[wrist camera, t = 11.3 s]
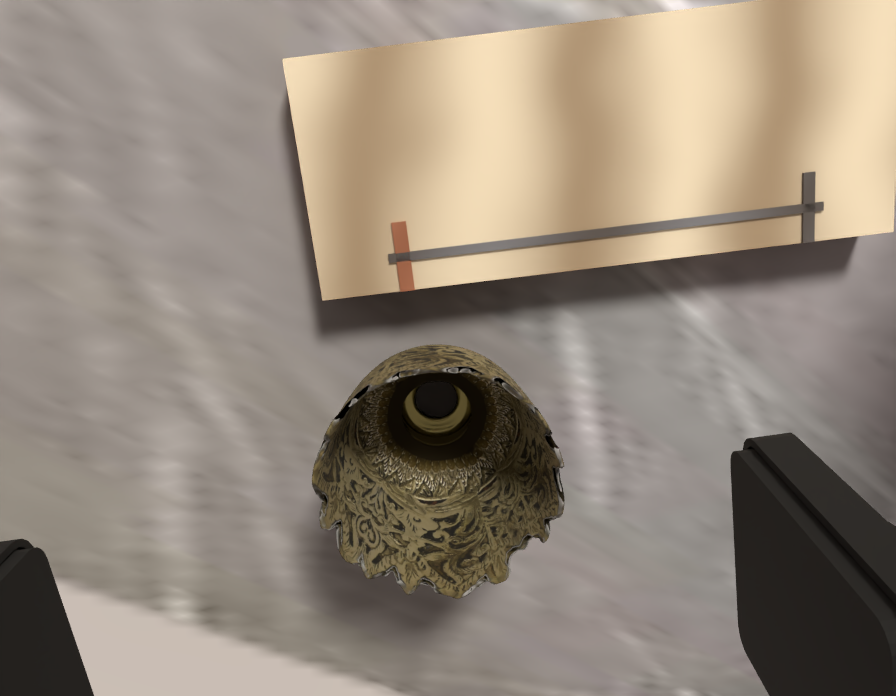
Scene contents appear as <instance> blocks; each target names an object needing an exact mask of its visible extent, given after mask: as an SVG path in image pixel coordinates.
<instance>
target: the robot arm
mask: <svg viewBox="0 0 896 696" xmlns="http://www.w3.org/2000/svg"><path fill="white" fill-rule="evenodd" d="M731 483H732V505H733V526H734V547H735V568H736V590H737V611H738V627H739V633H740V637H741V641H742V644H743V647H744V650H745V652H746V654H747V656H748V658H749V660H750V661H751V663H752V665H753V667H754V669H755V670H756V672H757V674H758V676H759V678H760V679H761V681H762V683H763V685H764V687H765V688H766V690H767V692H768V694H769V696H896V526H894V525H893V524H891V523H890V522H887V521H886V520H885V519H884V518H883V517H882V516H881V515H880V514H879V513H878V512H876V511H875V510H874V509H873V508H872V507H871V506H870V505H869V504H868V503H867V502H866V501H865V500H864V499H863V498H862V497H860V496H859V495H858V494H857V493H856V492H855V491H854V490H853V489H852V488H851V487H850V486H849V485H848V484H847V483H846V482H844V481H843V480H842V479H841V478H840V477H839V476H838V475H837V474H836V473H835V472H834V471H833V470H832V469H831V468H829V467H828V466H827V465H826V464H825V463H824V462H823V461H822V460H821V459H820V458H819V457H818V456H817V455H816V454H815V453H813V452H812V451H811V450H810V449H809V448H808V447H807V446H806V445H805V444H804V443H803V442H802V441H801V440H800V439H799V438H797V437H796V436H795V435H794V434H792V433H784V434H777V435H770V436H763V437H756V438H749V439H746V441H745V442H744V446H743V450H741V451H734V452H733V453H732V455H731ZM0 696H94V694H93V692H92V689H91V685H90V683H89V680H88V677H87V674H86V671H85V668H84V665H83V662H82V659H81V656H80V653H79V650H78V647H77V645H76V642H75V639H74V636H73V633H72V630H71V627H70V624H69V621H68V618H67V615H66V612H65V609H64V606H63V603H62V600H61V597H60V594H59V591H58V589H57V586H56V583H55V580H54V577H53V574H52V571H51V568H50V565H49V562H48V559H47V557H46V555H45V553H44V552H43V551H42V550H41V549H40V548H37V547H36V548H34V547H33V546H32V545H31V544H30V543H29V541H27V540H24V539H17V540H10V541H3V542H0Z"/></svg>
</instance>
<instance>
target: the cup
mask: <svg viewBox="0 0 896 696" xmlns="http://www.w3.org/2000/svg"><path fill="white" fill-rule="evenodd" d="M431 381H443V382H447V383H450V384H451V385H452V386H453V387H454V389H455V391H456V394H457V403H456V406H455V408H454V410H453V411H452V412H451V413H450V414H448V415H447V416H445V417H442V418H430V417H427V416H425V415H424V414H422V413H421V412H420V411H419V409H418V407H417V405H416V402H415V396H416V392H417V390H418V388H419V387H420V386H421V385H422V384H424V383H426V382H431ZM551 434H552V432H551V430H550V428H549V426H548V424H547V422H546V421H545V419H544V418H543V416H542V415H541V413H540V412H539V410H538V409H537V408H536V407H535V405H534V404H533V403H532V402H531V401H530V400H529V398H528V397H527V396H526V394H525V393H524V392H523V391H522V390H521V388H520V387H519V386H518V385H517V384H516V382H515V381H514V380H513V379H512V378H511V377H510V376H509V375H508V374H507V373H506V372H505V371H504V370H503V369H501V368H500V367H499V366H498V365H496V364H495V363H493V362H492V361H491V360H489V359H487V358H486V357H484V356H482V355H480V354H478V353H476V352H473V351H471V350H467V349H464V348H461V347H456V346H451V345H425V346H419V347H415V348H411V349H408V350H405V351H403V352H400V353H398V354H396V355H394V356H392V357H390V358H388V359H387V360H385V361H383V362H382V363H381V364H379V365H378V366H377V367H376V368H374V369H373V370H372V371H371V372H370V373H369V374H368V375H367V376H366V377H365V378H364V379H363V380H362V381H361V382H360V384H359V385H358V386H357V388H356V389H355V390H354V391H353V393H352V394H351V396H350V397H349V398H348V400H347V401H346V403H345V404H344V406H343V408H342V409H341V411H340V412H339V414H338V415H337V416H336V417H335V418H334V419H333V421H332V422H331V424H330V426H329V428H328V430H327V432H326V434H325V436H324V441H323V443H322V446H321V448H320V451H319V453H318V455H317V458H316V461H315V464H314V469H313V474H312V486H313V488H314V491H315V493H316V494H318V496H319V497H320V500H321V501H322V506H321V510H320V516H319V520H320V526H321V528H322V529H323V530H326V529H327V530H330V529H333V528H334V527H336V539H337V547H338V550H339V552H340V554H341V556H342V557H343V559H344V560H345V561H346V562H349V563H351V564H355V563H358V565H359V567H362V570H363V572H364V575H365V576H366V578H367V579H372V578H376V577H379V576H381V575H382V576H387V575H388V574H389V573H390V572H391V571H392V572H394V575H395V577H396V580H397V583H398V584H399V585H400V586H401V587H402V589H403V590H404V592H405V593H406V594H407V595H410V594H412V593H413V592H414V591H415V590H416V589H417V587H418V586H419V585H420V584H424V585H427V586H430V587H432V588H433V589H434V590H435V592H436V593H439V594H443V595H447V596H450V597H453V598H456V599H458V598H463V597H465V596H467V595H468V594H470V593H471V592H472V591H473V590H474V589H475V588H477V587H480V586H481V585H482V584H483V583H485V582H486V581H488V582H490V583H492V584H498V583H501V582H503V581H505V580H506V579H507V578H508V576H509V574H510V572H511V569H510V566H509V565H510V559H511V556H512V555H513V554H514V553H516V552H517V551H519V550H524V549H525V548H526V547H527V545H528V543H529V541H530V540H531V538H533V537H534V538H540V541H541V542H542V543H544V542H546V541H547V539H548V537H549V534H550V523H549V521H551V520H554V519H556V518H560V517H561V515H562V514H563V510H564V493H563V488H562V484H561V480H560V473H559V468H563V467H564V462H563V459H562V456H561V453H560V450H559V447H558V446H557V445H556V444H555V442H554V441H553V439H552V437H551ZM335 523H336V525H335Z"/></svg>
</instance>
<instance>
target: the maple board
mask: <svg viewBox="0 0 896 696" xmlns="http://www.w3.org/2000/svg"><path fill="white" fill-rule="evenodd" d="M282 60H283V66H284V72H285V78H286V84H287V90H288V96H289V102H290V108H291V114H292V120H293V126H294V132H295V138H296V144H297V150H298V156H299V162H300V168H301V174H302V180H303V186H304V192H305V198H306V204H307V210H308V216H309V222H310V228H311V234H312V240H313V246H314V252H315V258H316V264H317V270H318V276H319V282H320V288H321V294H322V301H324V300H332V299H341V298H349V297H357V296H366V295H374V294H382V293H390V292H399V291H401V292H404V291H412V290H415V289H424V288H432V287H440V286H449V285H457V284H465V283H473V282H482V281H490V280H498V279H507V278H515V277H523V276H531V275H540V274H548V273H556V272H565V271H573V270H581V269H590V268H598V267H606V266H614V265H623V264H631V263H639V262H648V261H656V260H664V259H672V258H681V257H689V256H697V255H706V254H714V253H722V252H731V251H739V250H747V249H755V248H764V247H772V246H780V245H789V244H797V243H810V242H815V241H822V240H830V239H838V238H847V237H855V236H863V235H872V234H880V233H888V232H893V231H894V207H895V184H896V0H758V1H749V2H741V3H733V4H725V5H717V6H709V7H701V8H692V9H684V10H676V11H668V12H660V13H652V14H644V15H635V16H627V17H619V18H611V19H603V20H595V21H587V22H578V23H570V24H562V25H554V26H546V27H538V28H530V29H521V30H513V31H505V32H497V33H489V34H481V35H473V36H464V37H456V38H448V39H440V40H432V41H424V42H416V43H407V44H399V45H391V46H383V47H375V48H367V49H359V50H350V51H342V52H334V53H326V54H318V55H310V56H302V57H293V58H285V59H282Z"/></svg>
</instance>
